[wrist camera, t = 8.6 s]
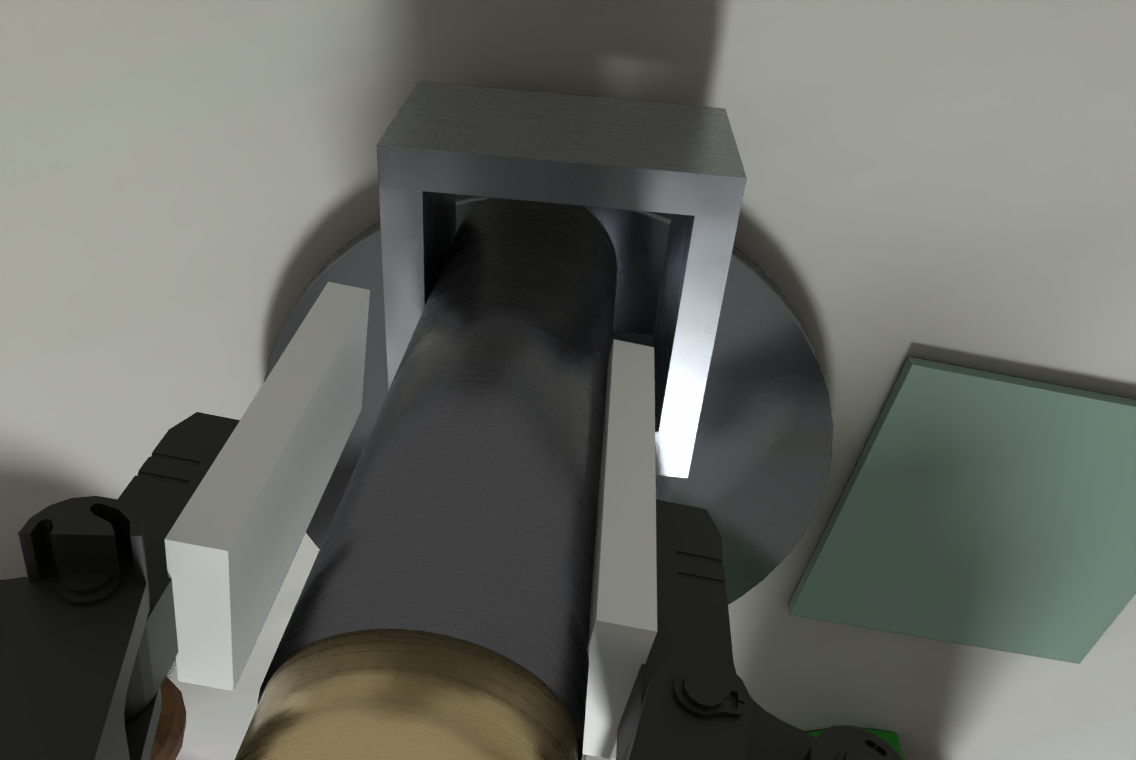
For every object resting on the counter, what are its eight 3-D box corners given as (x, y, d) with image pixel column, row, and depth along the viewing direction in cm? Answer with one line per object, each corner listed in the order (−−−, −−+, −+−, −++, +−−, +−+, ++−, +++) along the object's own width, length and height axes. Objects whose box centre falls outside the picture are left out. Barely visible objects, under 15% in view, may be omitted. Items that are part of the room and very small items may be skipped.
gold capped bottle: (637, 212, 19) (614, 859, 8) (593, 355, 21) (525, 1030, 10) (465, 169, 19) (178, 771, 8) (439, 317, 21) (183, 964, 10)
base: (917, 250, 22) (929, 268, 21) (733, 657, 31) (736, 681, 30) (272, 122, 21) (258, 136, 20) (273, 581, 30) (263, 604, 29)
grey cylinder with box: (734, 109, 19) (835, 411, 10) (651, 568, 27) (665, 970, 18) (410, 80, 19) (216, 355, 10) (421, 547, 27) (319, 939, 18)
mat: (1256, 422, 24) (1265, 431, 24) (1074, 654, 30) (1079, 663, 30) (908, 356, 24) (912, 364, 24) (788, 605, 29) (790, 614, 29)
